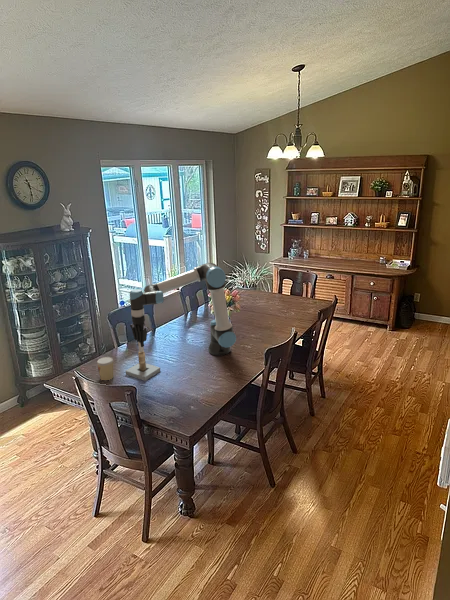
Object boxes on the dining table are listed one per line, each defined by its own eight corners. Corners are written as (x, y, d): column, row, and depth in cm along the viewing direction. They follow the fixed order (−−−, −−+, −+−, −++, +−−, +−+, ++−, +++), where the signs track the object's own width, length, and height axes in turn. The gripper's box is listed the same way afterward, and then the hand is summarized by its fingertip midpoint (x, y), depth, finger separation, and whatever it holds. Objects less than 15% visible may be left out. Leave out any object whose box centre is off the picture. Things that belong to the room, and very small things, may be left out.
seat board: (160, 371, 256) (160, 367, 255) (145, 380, 244) (144, 377, 243) (141, 365, 264) (141, 361, 263) (125, 374, 252) (125, 370, 251)
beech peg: (147, 372, 254) (146, 351, 250) (143, 375, 251) (141, 354, 247) (142, 370, 257) (141, 350, 252) (138, 373, 253) (136, 353, 249)
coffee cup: (100, 374, 253) (98, 357, 249) (116, 373, 253) (114, 356, 249) (97, 382, 244) (95, 364, 240) (113, 381, 244) (111, 363, 241)
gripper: (150, 315, 242) (153, 351, 249) (134, 311, 248) (137, 346, 256) (142, 319, 236) (145, 355, 243) (125, 315, 242) (129, 351, 250)
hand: (141, 351), depth 249 cm, fingers closed
